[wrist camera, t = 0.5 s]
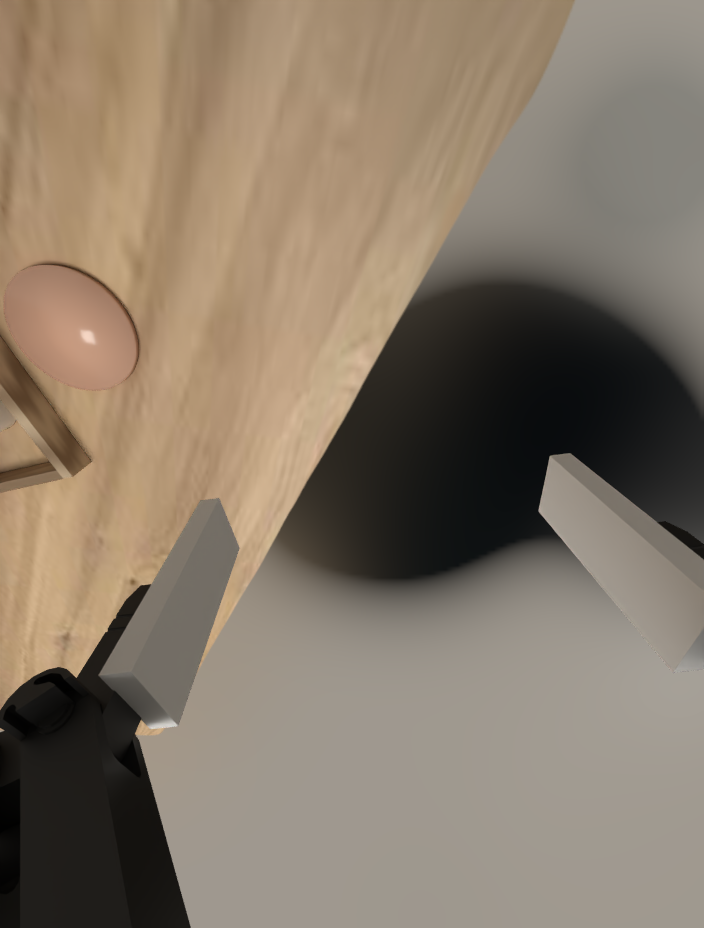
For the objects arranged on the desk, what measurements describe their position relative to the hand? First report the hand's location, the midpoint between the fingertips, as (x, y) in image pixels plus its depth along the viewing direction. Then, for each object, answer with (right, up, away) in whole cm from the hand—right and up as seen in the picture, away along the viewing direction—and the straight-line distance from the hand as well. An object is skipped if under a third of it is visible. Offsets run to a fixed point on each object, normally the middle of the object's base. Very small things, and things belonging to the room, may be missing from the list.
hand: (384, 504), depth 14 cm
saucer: (-30, +15, +21) cm, 40 cm away
